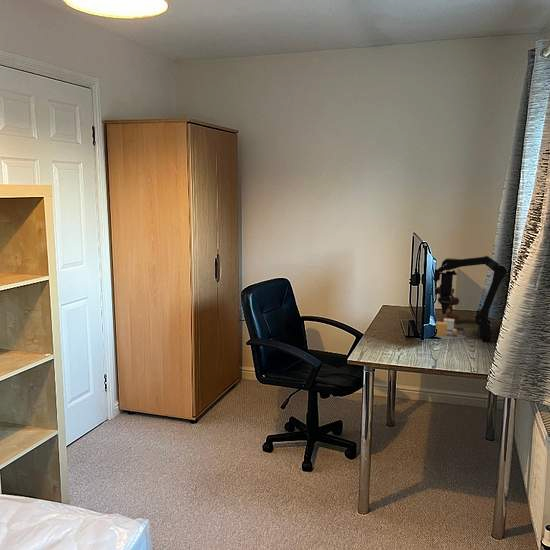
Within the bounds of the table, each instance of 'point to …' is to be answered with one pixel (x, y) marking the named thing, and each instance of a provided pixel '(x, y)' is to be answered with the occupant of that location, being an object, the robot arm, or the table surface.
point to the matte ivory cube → (449, 323)
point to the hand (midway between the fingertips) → (444, 312)
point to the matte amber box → (441, 328)
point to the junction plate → (451, 335)
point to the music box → (450, 310)
